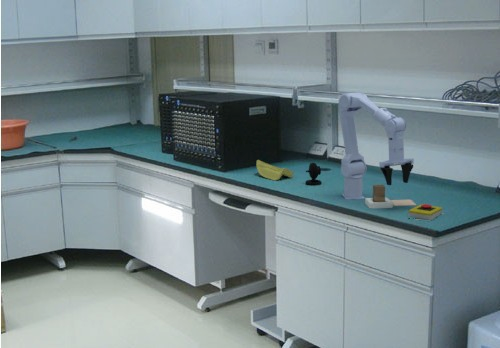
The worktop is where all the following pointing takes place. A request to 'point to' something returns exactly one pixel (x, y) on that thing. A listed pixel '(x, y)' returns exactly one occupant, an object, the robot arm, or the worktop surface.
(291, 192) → the worktop surface
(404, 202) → the pad
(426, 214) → the emergency button
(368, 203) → the pocket block
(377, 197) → the peg
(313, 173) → the webcam
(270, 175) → the plastic component
